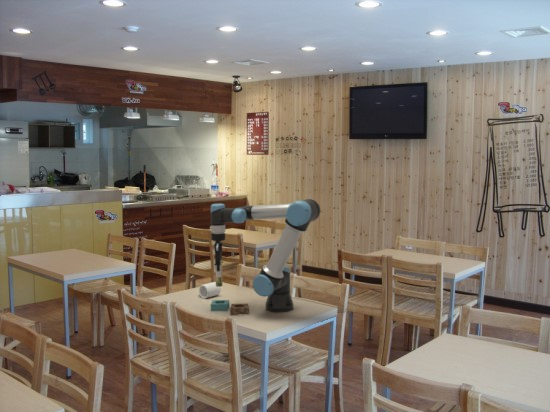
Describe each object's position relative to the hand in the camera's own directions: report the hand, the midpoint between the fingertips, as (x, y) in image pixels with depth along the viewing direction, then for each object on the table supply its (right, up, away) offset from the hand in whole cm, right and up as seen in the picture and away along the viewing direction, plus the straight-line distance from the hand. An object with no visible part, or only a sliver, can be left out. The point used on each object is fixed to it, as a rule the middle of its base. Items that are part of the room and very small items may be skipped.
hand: (218, 276), depth 309 cm
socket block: (0, -18, +2) cm, 18 cm away
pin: (0, -5, +1) cm, 5 cm away
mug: (-9, -16, +29) cm, 34 cm away
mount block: (+11, -18, -6) cm, 23 cm away
